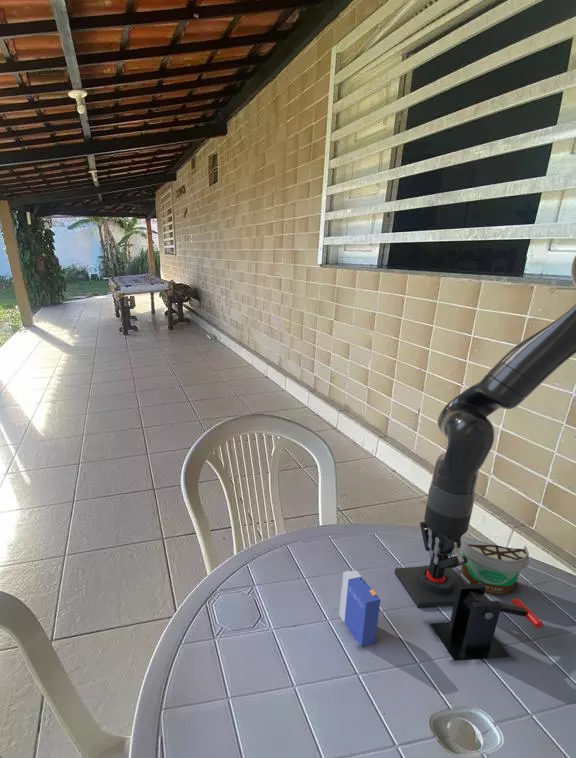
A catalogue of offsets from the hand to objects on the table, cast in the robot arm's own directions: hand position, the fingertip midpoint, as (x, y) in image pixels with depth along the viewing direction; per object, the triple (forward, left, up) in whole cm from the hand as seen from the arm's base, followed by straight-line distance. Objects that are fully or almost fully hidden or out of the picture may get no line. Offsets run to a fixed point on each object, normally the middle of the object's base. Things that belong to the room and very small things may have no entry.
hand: (435, 575), depth 88 cm
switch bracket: (+1, +13, -4) cm, 14 cm away
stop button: (0, 0, -2) cm, 2 cm away
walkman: (+20, +9, -4) cm, 22 cm away
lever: (-3, +13, +3) cm, 14 cm away
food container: (-12, +1, -4) cm, 13 cm away
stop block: (0, 0, -4) cm, 4 cm away
